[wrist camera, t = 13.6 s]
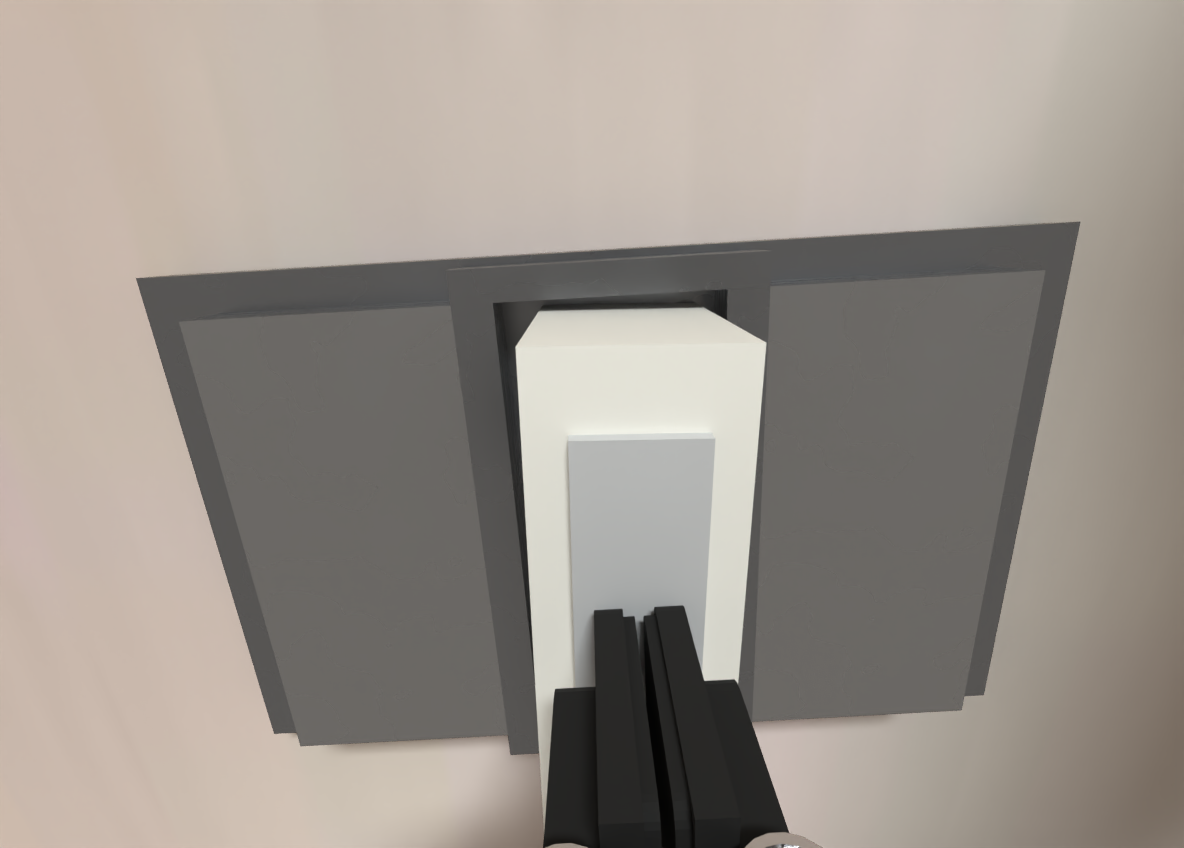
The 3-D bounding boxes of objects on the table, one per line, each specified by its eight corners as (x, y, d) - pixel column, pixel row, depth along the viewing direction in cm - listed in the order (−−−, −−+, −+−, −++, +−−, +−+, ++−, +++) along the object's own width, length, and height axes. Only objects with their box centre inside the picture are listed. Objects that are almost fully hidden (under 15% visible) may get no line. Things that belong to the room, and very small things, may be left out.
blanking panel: (695, 302, 15) (772, 346, 9) (679, 674, 18) (726, 883, 12) (542, 305, 15) (512, 350, 9) (558, 676, 18) (545, 888, 12)
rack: (1043, 223, 15) (1148, 219, 12) (961, 669, 20) (1023, 740, 17) (169, 275, 15) (75, 283, 13) (291, 705, 20) (243, 782, 17)
